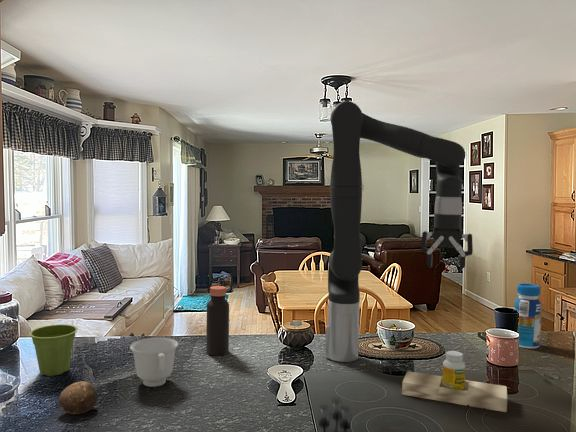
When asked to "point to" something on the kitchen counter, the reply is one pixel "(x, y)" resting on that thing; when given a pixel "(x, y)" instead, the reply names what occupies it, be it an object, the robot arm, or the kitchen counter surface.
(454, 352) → the supplement bottle
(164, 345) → the teacup
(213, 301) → the vinegar
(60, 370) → the plant pot
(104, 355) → the kitchen counter surface
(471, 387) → the wooden plank
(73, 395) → the brown potato
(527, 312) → the beverage bottle
